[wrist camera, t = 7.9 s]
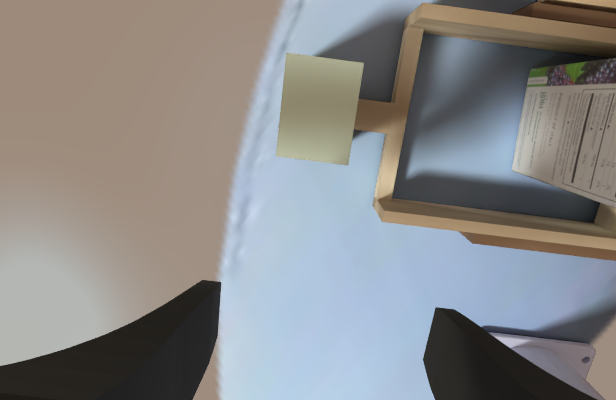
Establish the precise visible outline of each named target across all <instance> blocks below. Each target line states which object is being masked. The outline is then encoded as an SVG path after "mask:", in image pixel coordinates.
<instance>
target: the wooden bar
mask: <svg viewBox="0 0 616 400" xmlns="http://www.w3.org/2000/svg"><path fill="white" fill-rule="evenodd" d="M537 3H543V4H551V5H558V6H565V7H573V8H580V9H587V10H594V11H602V12H609V13H616V0H538V2H537Z"/></svg>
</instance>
